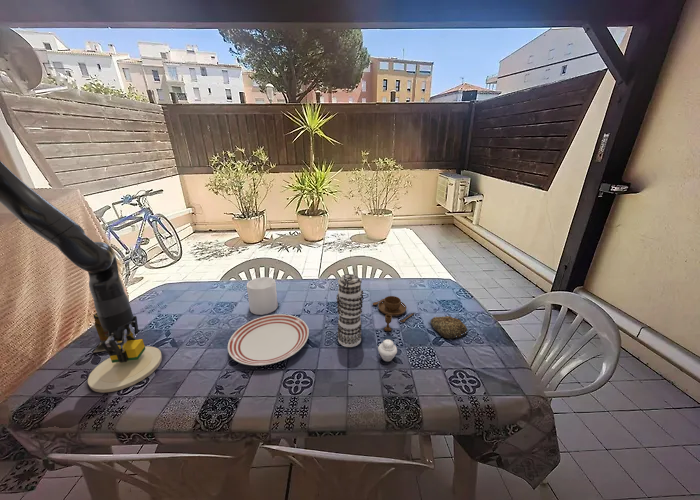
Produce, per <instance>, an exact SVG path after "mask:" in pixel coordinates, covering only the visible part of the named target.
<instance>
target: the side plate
mask: <svg viewBox="0 0 700 500" xmlns="http://www.w3.org/2000/svg"><path fill="white" fill-rule="evenodd" d="M162 360H163V355H162V352H161V350H160V349H159V348H157V347H155V346H150V345H149V346H148V345H145V350H144V352H143V353H142V355H141V356H140V357H139V359H138V360H130V361H127V362H123V363H120V362H114V363H112V361H111V358H110V357H108V358H106V359H105V360H103V361H102V362H100V363H99V364H98V365H97V366H96V367H94V368H93V369H92V371H91V372H90V374H89V375H88V377H87V384H88V387H89V389H91V391H93V392H96V393H101V394H102V393H112V392H117V391H122V390H124V389H127V388H129V387H132V386H134V385H136V384H138V383H139V382H142V381H143V380H145V379H146V378H148V377H149V376H151V375H152V374H153V373H154V372H155V371H156V370H157V369H158V368H159V366H160V365H161V364H162Z"/></svg>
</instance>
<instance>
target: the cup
mask: <svg viewBox="0 0 700 500" xmlns="http://www.w3.org/2000/svg"><path fill="white" fill-rule="evenodd" d="M246 291H247V299H248V307H249V312H251V314H253V315H258V316H265V315H269V314H271V313H273V312H275V311H276V310H277V309H278V306H279V304H278V303H279V302H278V293H277V283H276V279H274V278H273V277H269V276H261V277H256V278H253V279H251V280H249V281H248V282H247V283H246Z"/></svg>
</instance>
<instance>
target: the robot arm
mask: <svg viewBox="0 0 700 500" xmlns="http://www.w3.org/2000/svg"><path fill="white" fill-rule="evenodd" d="M0 204H1V205H2V206H4V207H5V208H6V210H7V211H9V212H10V213H11V214H12V215H13V216H14V217H15V218H16V219H18V220H19V221H20V223H22V224H23V225H24V226H26V227H27V228H28V229H30V230H31V231H32V232H34V233H36V235H38V236H40V237H41V238H42V239H44V240H45V241H47V242H48V243H50V244H51V245H53V246H55V247H56V248H57V249H58V251H60V252H61V253H62V254H63V255H64V256H65V258H67V259H68V260H69V261H70V262H71V263H73V264H74V266H76V267H78V268H79V269H81V270H82V271H85V272H87V274H88V277H89V278H88V288H89V291H90V294H91V297H92V300H93V306H94V309H95V312H96V313H97V315H98V318H99V321H100V323H101V326H102V327H103V328H104V329H106V330H108V336H109V338H108V339H107V341H103V342H102V345H103V347H104V348H105V350H106V351H105V352H106V353H107V354H108V355H109V357H110V356H113V355H117V358H118V361H119V362H120V363H123V362H127V361H128V360H129V359H128V356H127V353H126V351H125V344H126V343H127V341H129V340H137V339H136V338H137V334H139V332H140V331H139V325H138V317H137V315H134V314H133V310H132V306H131V304H130V303H131V302H130V299H129V298H128V295H127V293H126V291H125V288H124V284H123V281H122V279H121V276H120V273H119V272H120V271H119V267H118V260H117V256H116V252H115V250H114V249H113V247H112V246H111V245H109V244H108V243H106V242H103V241H94V240H92V239H91V238H90V237H89V236H88V235H87V234H86V232H85V229H84V228H83V227H82V226H81V225H79V224H78V223H77V222H76V221H75V220H73V219H72V218H71V217H69V216H68V215H67V214H65V213H64V212H63V211H61V210H60V209H59V208H57V207H56V206H55V205H53V204H52V203H51V202H50V201H48V200H47V199H45V198H43V196H41V195H40V194H38V193H37V192H36V191H34V190H33V189H32V188H31V187H30V186H29V185H27V184H26V183H25V182H23V180H22V179H20V178H19V177H18V176H17V175H15V174H14V172H12V170H10V168H8V166H6V164H4V163H3V162H2V161H1V160H0ZM121 340H122V342H117V341H121ZM118 345H120V346H121V349H119V347H118Z"/></svg>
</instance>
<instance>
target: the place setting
mask: <svg viewBox="0 0 700 500" xmlns="http://www.w3.org/2000/svg"><path fill="white" fill-rule="evenodd" d="M401 300H402V299H401V298H399V296H395V295H389V296H386V297H384V298H382V299H381V300H379V301H375V302H373V303H372V305H373V306H377V305H378V306H377V308H378V310H379V311H380V312H381V313H382V314H384V321H385V323H386V326H385V327H384V328H383V330H384V331H385V332H388V333H390V332H391V331H392V327H390V324H391V323H392V321H393V320H392V319H393V317H398V316H401V315H403V314H404V313H405V312H406V311H407V305H406V304H405V303H404V302H403V301H401ZM382 302H383V303H382ZM401 303H402V304H403V305H404V306H405V307H404V306H403V305H402V304H401ZM413 315H414V313H411V314H409V315H408V316H406V317H405V318H404V319H402V320H399V322H400V323H404V322H406V320H408V319H409V318H410V317H412V316H413Z"/></svg>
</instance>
